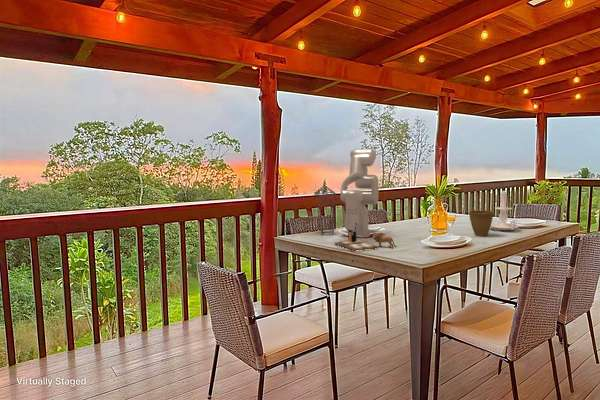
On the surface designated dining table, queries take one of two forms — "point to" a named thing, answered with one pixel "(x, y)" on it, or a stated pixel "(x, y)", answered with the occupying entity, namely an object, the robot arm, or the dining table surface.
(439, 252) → the dining table surface
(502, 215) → the candlestick
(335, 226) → the geometric lantern
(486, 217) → the plant pot
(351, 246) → the ticket board
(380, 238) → the lion figurine
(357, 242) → the stub
